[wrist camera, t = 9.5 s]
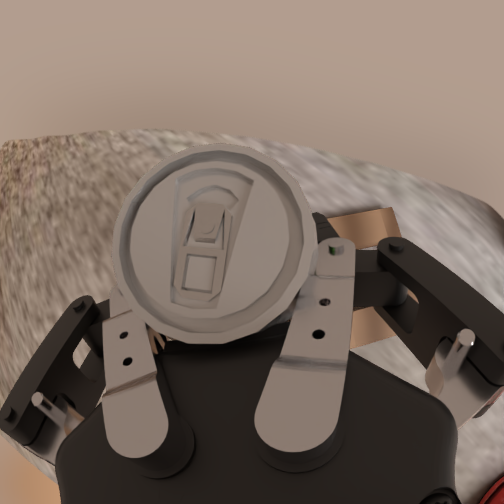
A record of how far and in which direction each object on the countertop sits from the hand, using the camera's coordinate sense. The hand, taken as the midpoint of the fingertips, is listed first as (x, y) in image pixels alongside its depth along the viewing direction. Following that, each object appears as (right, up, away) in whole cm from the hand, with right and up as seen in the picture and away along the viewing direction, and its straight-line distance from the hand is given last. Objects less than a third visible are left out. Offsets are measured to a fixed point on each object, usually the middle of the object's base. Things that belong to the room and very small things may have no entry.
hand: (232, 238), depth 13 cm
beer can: (+1, -3, +5) cm, 6 cm away
